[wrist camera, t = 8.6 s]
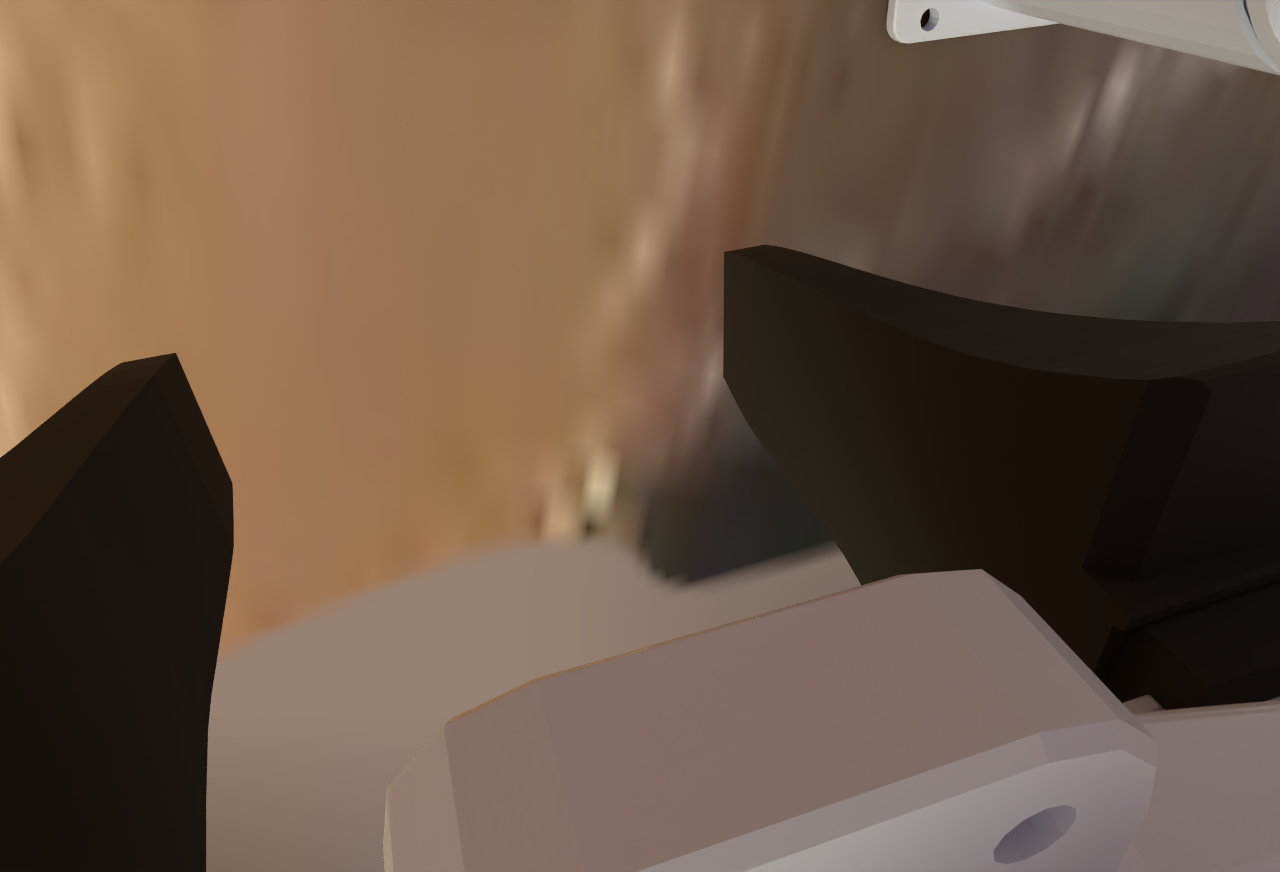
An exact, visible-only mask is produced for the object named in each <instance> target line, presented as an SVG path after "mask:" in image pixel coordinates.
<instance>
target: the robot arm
mask: <svg viewBox="0 0 1280 872" xmlns="http://www.w3.org/2000/svg"><path fill="white" fill-rule="evenodd" d="M927 9H929V10H930V18H929V21H928V23H927V24H926V25H925V26H924V27H922V28H921V23H920V20H921V17H922V14H923V13H924V12H925V11H926V10H927ZM1058 23H1061V24H1065V25H1070V26H1074V27H1078V28H1082V29H1087V30H1091V31H1095V32H1099V33H1103V34H1108V35H1112V36H1116V37H1120V38H1125V39H1129V40H1133V41H1137V42H1142V43H1146V44H1150V45H1154V46H1158V47H1163V48H1167V49H1171V50H1175V51H1180V52H1184V53H1188V54H1192V55H1196V56H1201V57H1205V58H1209V59H1213V60H1218V61H1222V62H1226V63H1230V64H1235V65H1239V66H1243V67H1247V68H1251V69H1256V70H1260V71H1264V72H1268V73H1273V74H1277V75H1280V0H889V5H888V14H887V31H888V33H889V35H890V37H891V38H893V39H894V40H895V41H898V42H901V43H915V42H922V41H930V40H937V39H945V38H952V37H960V36H968V35H975V34H983V33H990V32H998V31H1005V30H1013V29H1020V28H1028V27H1035V26H1043V25H1050V24H1058ZM723 377H724V379H725V381H726V383H727V385H728V387H729V389H730V391H731V393H732V395H733V397H734V399H735V401H736V403H737V405H738V406H739V408H740V410H741V412H742V414H743V415H744V417H745V419H746V421H747V423H748V425H749V426H750V428H751V429H752V431H753V432H754V434H755V435H756V436H757V438H758V439H759V440H760V442H761V443H762V445H763V446H764V447H765V449H766V450H767V451H768V453H769V454H770V455H771V457H772V458H773V459H774V461H775V462H776V463H777V465H778V466H779V467H780V469H781V470H782V471H783V473H784V474H785V475H786V477H787V478H788V479H789V481H790V482H791V483H792V485H793V486H794V487H795V489H796V490H797V491H798V492H799V494H800V495H801V496H802V498H803V499H804V500H805V502H806V503H807V504H808V506H809V507H810V508H811V510H812V511H813V512H814V514H815V515H816V516H817V518H818V519H819V520H820V522H821V523H822V524H823V525H824V527H825V528H826V529H827V531H828V532H829V534H830V535H831V537H832V538H833V540H834V541H835V543H836V544H837V545H838V547H839V548H840V550H841V551H842V553H843V554H844V556H845V558H846V559H847V561H848V563H849V564H850V566H851V568H852V570H853V571H854V573H855V575H856V577H857V578H858V580H859V582H860V583H861V585H862V586H858V587H855V588H851V589H848V590H844V591H841V592H837V593H834V594H831V595H827V596H823V597H820V598H816V599H813V600H809V601H806V602H802V603H799V604H795V605H792V606H788V607H785V608H782V609H778V610H774V611H771V612H767V613H764V614H760V615H757V616H753V617H750V618H746V619H743V620H739V621H736V622H733V623H729V624H726V625H722V626H718V627H715V628H712V629H708V630H705V631H701V632H698V633H694V634H690V635H687V636H684V637H680V638H676V639H673V640H669V641H666V642H663V643H659V644H655V645H652V646H649V647H645V648H641V649H638V650H634V651H631V652H627V653H624V654H620V655H617V656H613V657H610V658H606V659H603V660H599V661H596V662H593V663H589V664H585V665H582V666H578V667H575V668H571V669H568V670H564V671H561V672H557V673H554V674H550V675H547V676H543V677H540V678H536V679H533V680H531V681H529V682H527V683H525V684H523V685H521V686H519V687H517V688H515V689H512V690H510V691H508V692H506V693H504V694H502V695H500V696H498V697H496V698H494V699H492V700H490V701H487V702H485V703H483V704H481V705H479V706H477V707H475V708H473V709H471V710H468V711H466V712H465V713H462V714H460V715H458V716H456V717H454V718H453V719H451V720H450V721H449V722H448V723H446V724H445V725H444V726H443V727H442V728H441V729H440V730H439V731H438V732H437V734H436V735H435V736H434V737H433V738H432V739H431V740H430V741H429V742H428V743H427V744H426V746H425V747H424V748H423V749H422V750H421V751H420V752H419V753H418V754H417V756H416V757H415V758H414V759H413V760H412V761H411V762H410V763H409V765H407V767H406V768H405V769H404V770H403V771H402V772H401V773H400V774H399V775H398V777H397V778H396V779H395V780H394V781H393V782H392V783H391V784H390V786H388V788H387V796H386V812H385V826H384V841H383V850H384V866H385V872H1280V321H1267V322H1237V323H1201V322H1158V321H1138V320H1121V319H1108V318H1097V317H1087V316H1077V315H1066V314H1057V313H1049V312H1041V311H1034V310H1027V309H1021V308H1016V307H1010V306H1004V305H998V304H993V303H987V302H981V301H976V300H971V299H967V298H962V297H957V296H953V295H949V294H945V293H941V292H937V291H933V290H929V289H925V288H921V287H917V286H913V285H910V284H906V283H902V282H899V281H895V280H892V279H888V278H885V277H882V276H878V275H875V274H872V273H868V272H865V271H862V270H858V269H855V268H852V267H849V266H845V265H842V264H839V263H836V262H832V261H829V260H826V259H823V258H819V257H816V256H813V255H809V254H806V253H802V252H799V251H795V250H791V249H787V248H782V247H777V246H771V245H760V246H755V247H749V248H744V249H739V250H733V251H728V252H724V367H723ZM233 548H234V519H233V488H232V481H231V479H230V477H229V475H228V472H227V470H226V468H225V465H224V463H223V461H222V458H221V456H220V454H219V451H218V449H217V447H216V445H215V442H214V440H213V438H212V435H211V433H210V431H209V428H208V426H207V424H206V421H205V419H204V417H203V415H202V412H201V410H200V408H199V405H198V403H197V401H196V398H195V396H194V394H193V392H192V389H191V387H190V385H189V382H188V380H187V378H186V375H185V373H184V371H183V368H182V366H181V364H180V362H179V359H178V357H177V355H176V353H172V354H167V355H161V356H156V357H150V358H145V359H139V360H134V361H128V362H123V363H121V364H119V365H117V366H115V367H114V368H112V369H111V370H109V371H108V372H106V373H105V374H103V375H102V376H101V377H99V378H98V379H97V380H95V381H94V382H93V383H92V384H90V385H89V386H88V387H87V388H85V389H84V390H83V391H82V392H80V393H79V394H78V395H77V396H76V397H74V398H73V399H72V400H71V401H70V402H68V403H67V404H66V405H65V406H64V407H62V408H61V409H60V410H59V411H57V412H56V413H55V414H54V415H53V416H51V417H50V418H49V419H48V420H47V421H45V422H44V423H43V424H42V425H41V426H39V427H38V428H37V429H36V430H34V431H33V432H32V433H31V434H30V435H28V436H27V437H26V438H25V439H24V440H22V441H21V442H20V443H19V444H18V445H16V446H15V447H14V448H13V449H11V450H10V451H9V452H7V453H6V454H5V455H3V456H2V457H1V458H0V872H206V785H207V783H206V782H207V746H208V744H207V743H208V724H209V714H210V713H209V712H210V703H211V694H212V687H213V681H214V674H215V668H216V662H217V656H218V649H219V643H220V636H221V630H222V623H223V617H224V611H225V604H226V598H227V591H228V584H229V577H230V570H231V563H232V555H233Z"/></svg>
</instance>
